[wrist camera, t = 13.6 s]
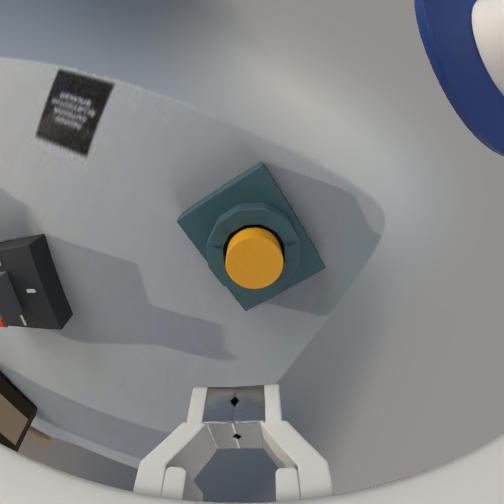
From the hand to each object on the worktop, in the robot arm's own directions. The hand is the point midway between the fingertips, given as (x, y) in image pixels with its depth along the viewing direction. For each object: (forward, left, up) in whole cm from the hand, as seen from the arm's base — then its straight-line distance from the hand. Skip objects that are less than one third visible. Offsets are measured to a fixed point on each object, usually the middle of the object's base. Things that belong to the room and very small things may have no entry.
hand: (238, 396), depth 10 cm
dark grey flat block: (+27, +3, -17) cm, 32 cm away
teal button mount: (-1, 0, -17) cm, 17 cm away
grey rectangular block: (+27, +3, -14) cm, 30 cm away
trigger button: (-1, 0, -14) cm, 14 cm away
